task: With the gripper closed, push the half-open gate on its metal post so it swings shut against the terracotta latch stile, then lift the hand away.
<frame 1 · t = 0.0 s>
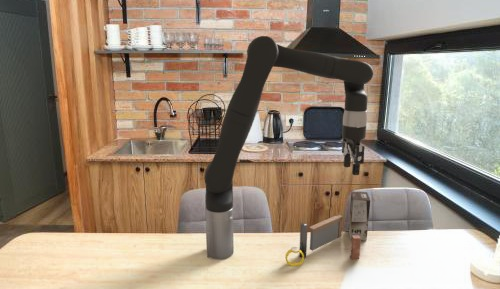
hand: (351, 170, 117), 29 cm above the table, tool pointing down, fingers open, 8 cm apart
gate: (325, 232, 124), point 6 cm above the table, hinge at 35.0°
watch: (294, 265, 114), on the table
gate post: (302, 256, 119), on the table
coffee box: (357, 234, 134), on the table
latch stile: (354, 258, 118), on the table
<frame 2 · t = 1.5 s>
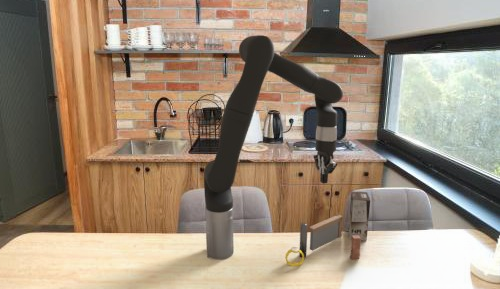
hand: (323, 182, 130), 21 cm above the table, tool pointing down, fingers closed
nothing on the table moved.
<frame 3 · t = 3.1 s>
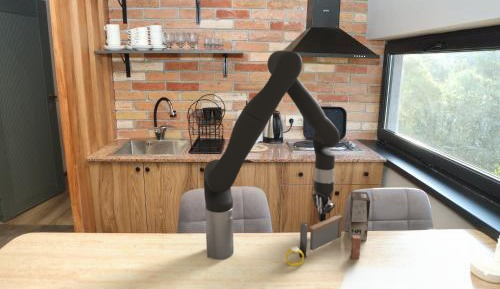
hand: (321, 221, 134), 5 cm above the table, tool pointing down, fingers closed
nothing on the table moved.
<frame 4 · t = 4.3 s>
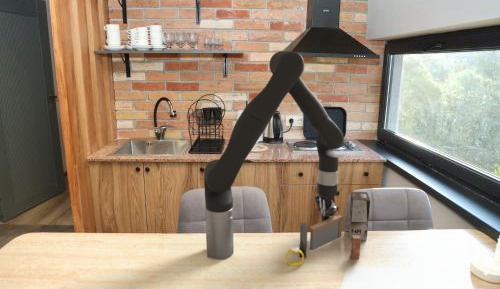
hand: (325, 223, 132), 5 cm above the table, tool pointing down, fingers closed
nothing on the table moved.
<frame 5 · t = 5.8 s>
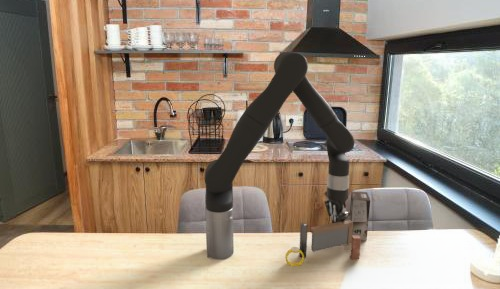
hand: (335, 229, 127), 5 cm above the table, tool pointing down, fingers closed
gate: (331, 235, 121), point 6 cm above the table, hinge at 17.7°, touching hand
everything else where it was.
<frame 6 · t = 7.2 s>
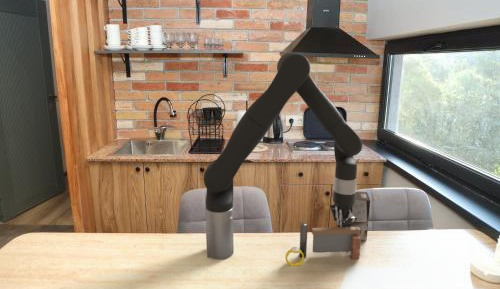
hand: (341, 234, 123), 5 cm above the table, tool pointing down, fingers closed
gate: (335, 240, 118), point 6 cm above the table, hinge at -0.3°, touching hand
everything else where it was.
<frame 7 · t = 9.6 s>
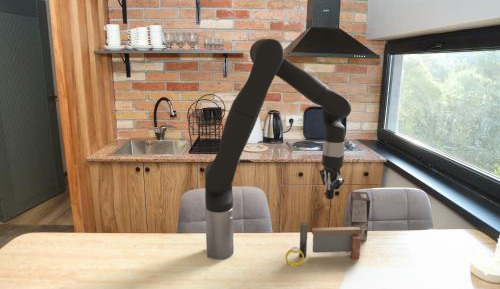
hand: (329, 198, 127), 16 cm above the table, tool pointing down, fingers closed
gate: (335, 240, 118), point 6 cm above the table, hinge at -0.4°
everything else where it was.
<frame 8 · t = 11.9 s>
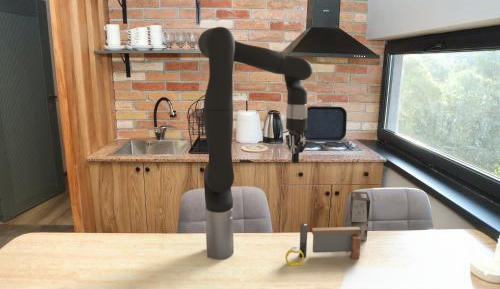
hand: (295, 162, 128), 29 cm above the table, tool pointing down, fingers closed
nothing on the table moved.
at the end: gate at +0° (first picture: +35°); watch moved 0.3 cm from its start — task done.
